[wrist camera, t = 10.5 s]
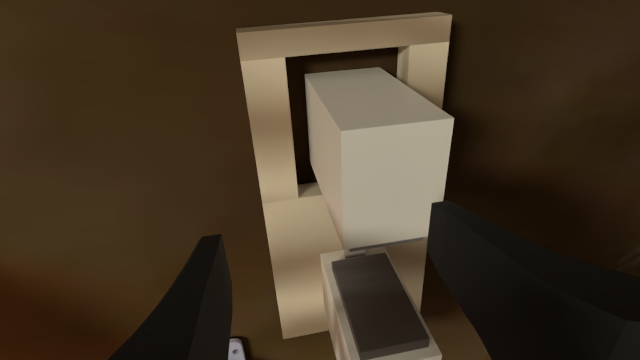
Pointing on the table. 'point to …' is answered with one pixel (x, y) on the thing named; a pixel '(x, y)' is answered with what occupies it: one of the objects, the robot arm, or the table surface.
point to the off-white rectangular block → (376, 155)
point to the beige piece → (309, 205)
